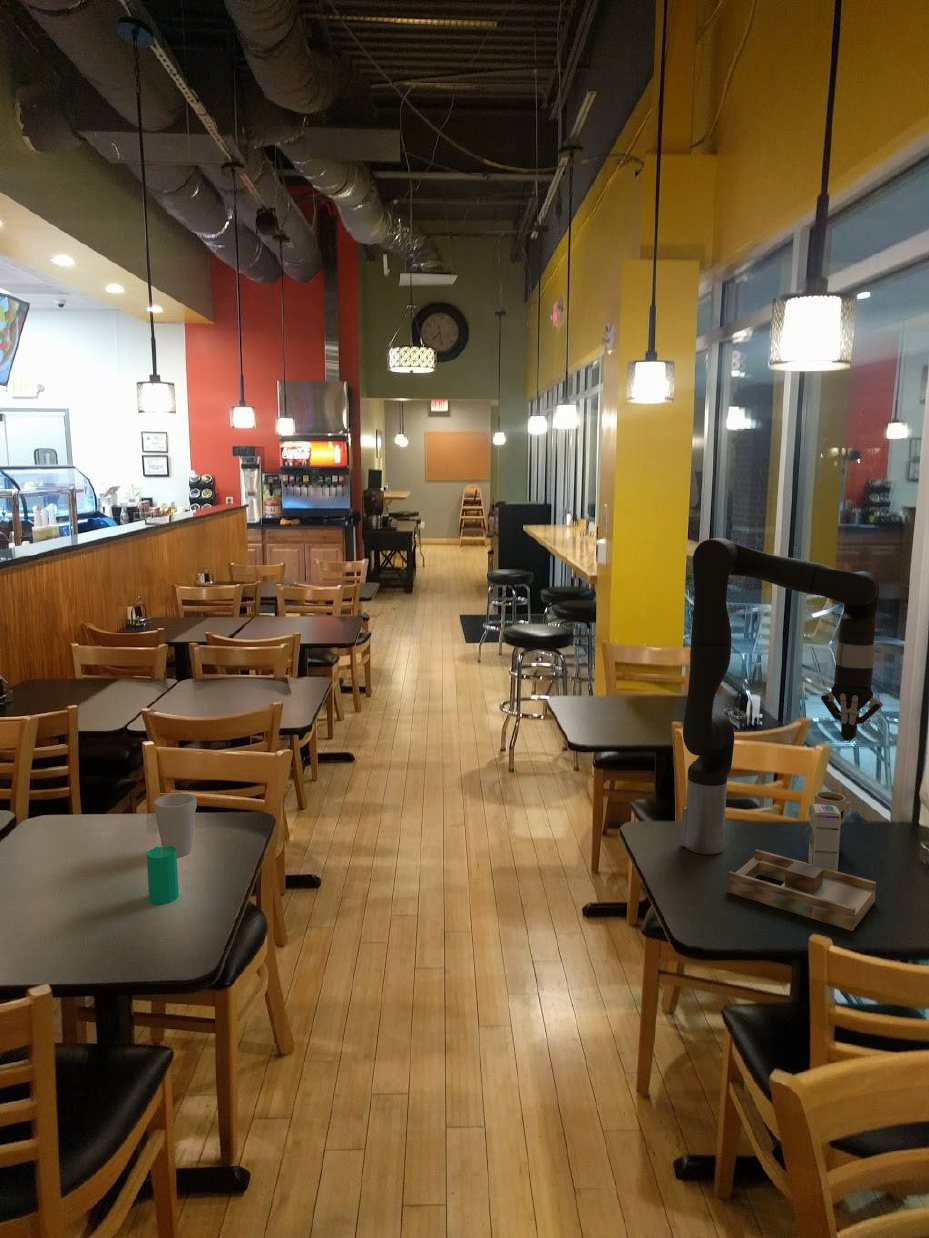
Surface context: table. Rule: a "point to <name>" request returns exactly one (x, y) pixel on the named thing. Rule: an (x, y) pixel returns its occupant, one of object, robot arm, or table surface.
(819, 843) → the syrup box
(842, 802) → the character mug
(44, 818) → the table surface
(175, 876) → the candle
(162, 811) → the foam cup
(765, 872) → the tray
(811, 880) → the walnut block
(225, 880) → the table surface
